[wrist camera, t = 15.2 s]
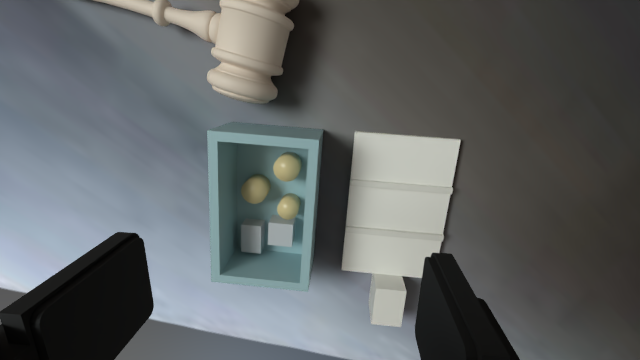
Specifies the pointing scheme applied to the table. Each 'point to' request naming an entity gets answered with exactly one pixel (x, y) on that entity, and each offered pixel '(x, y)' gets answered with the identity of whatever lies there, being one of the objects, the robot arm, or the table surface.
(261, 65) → the gavel
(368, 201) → the lid
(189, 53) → the table surface
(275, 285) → the tub
